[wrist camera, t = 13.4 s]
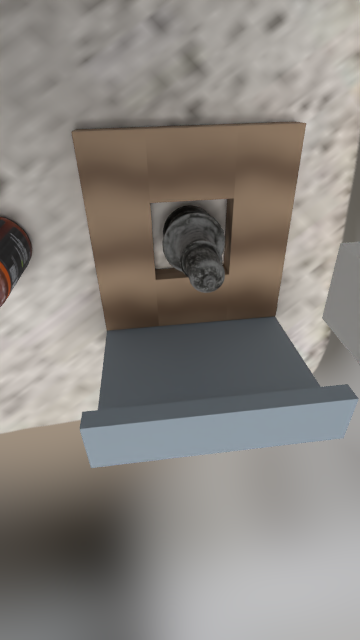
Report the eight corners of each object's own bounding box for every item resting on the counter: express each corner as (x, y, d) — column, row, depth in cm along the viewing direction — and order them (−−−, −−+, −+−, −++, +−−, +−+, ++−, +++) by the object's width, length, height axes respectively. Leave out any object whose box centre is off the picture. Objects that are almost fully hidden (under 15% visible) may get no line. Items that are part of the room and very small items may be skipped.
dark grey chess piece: (193, 189, 32) (220, 230, 22) (228, 234, 35) (266, 288, 25) (148, 230, 34) (154, 285, 24) (184, 269, 36) (204, 333, 26)
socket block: (76, 129, 28) (71, 131, 26) (294, 121, 30) (306, 123, 28) (108, 318, 39) (106, 330, 37) (268, 305, 40) (275, 316, 38)
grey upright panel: (100, 300, 37) (79, 429, 23) (274, 287, 39) (358, 398, 24) (106, 333, 40) (90, 467, 25) (269, 319, 41) (343, 438, 27)
